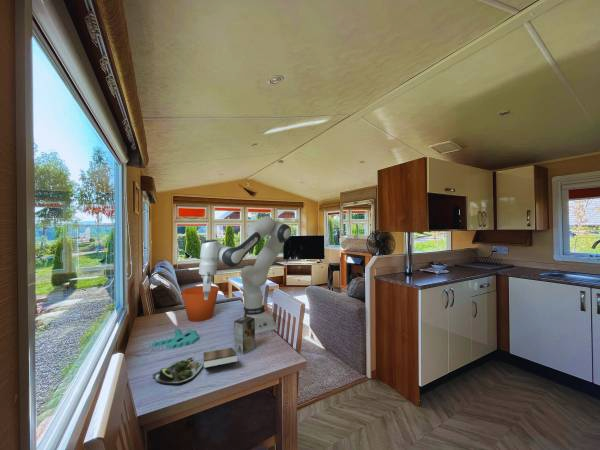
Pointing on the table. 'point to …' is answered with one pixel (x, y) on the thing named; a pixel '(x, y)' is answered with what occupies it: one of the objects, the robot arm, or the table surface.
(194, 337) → the alien figure
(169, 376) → the salad plate
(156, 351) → the table surface
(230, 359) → the grey plank
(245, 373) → the table surface
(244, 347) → the coffee box
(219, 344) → the table surface
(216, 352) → the walnut board
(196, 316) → the flowerpot
